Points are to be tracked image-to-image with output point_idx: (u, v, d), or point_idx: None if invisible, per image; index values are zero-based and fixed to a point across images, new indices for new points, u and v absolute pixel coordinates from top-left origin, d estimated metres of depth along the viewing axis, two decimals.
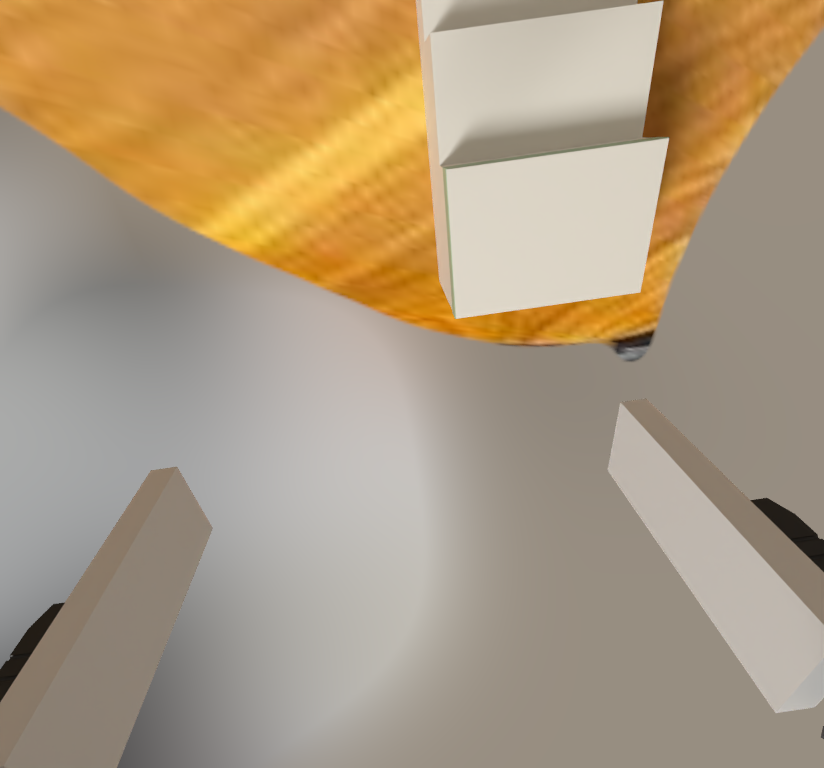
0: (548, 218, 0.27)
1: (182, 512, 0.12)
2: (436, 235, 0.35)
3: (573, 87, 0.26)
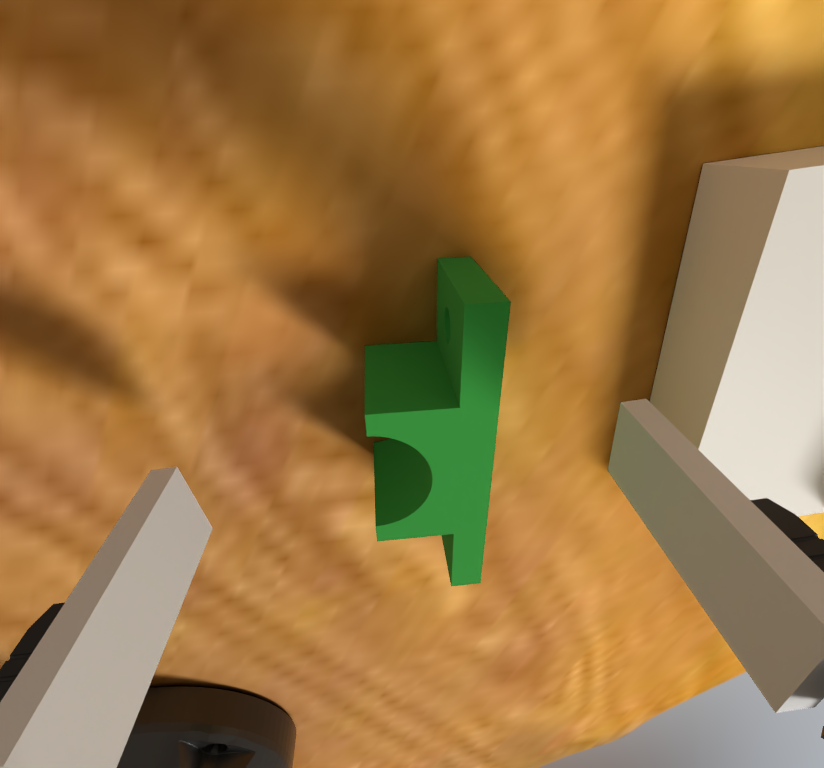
0: None
1: (182, 512, 0.12)
2: None
3: None
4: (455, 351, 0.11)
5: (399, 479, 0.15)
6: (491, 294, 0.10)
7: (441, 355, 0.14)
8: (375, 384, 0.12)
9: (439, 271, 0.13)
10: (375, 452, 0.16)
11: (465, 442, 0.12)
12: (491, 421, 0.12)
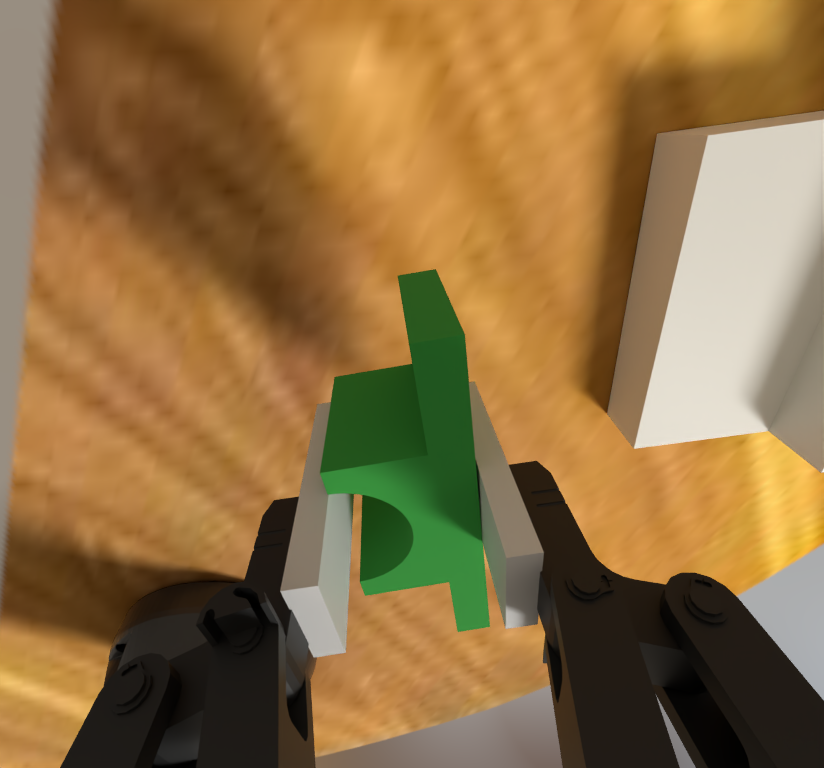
0: None
1: None
2: None
3: None
4: None
5: (386, 522, 0.13)
6: (444, 324, 0.09)
7: (415, 384, 0.12)
8: (338, 430, 0.11)
9: None
10: None
11: (442, 490, 0.10)
12: (469, 465, 0.10)
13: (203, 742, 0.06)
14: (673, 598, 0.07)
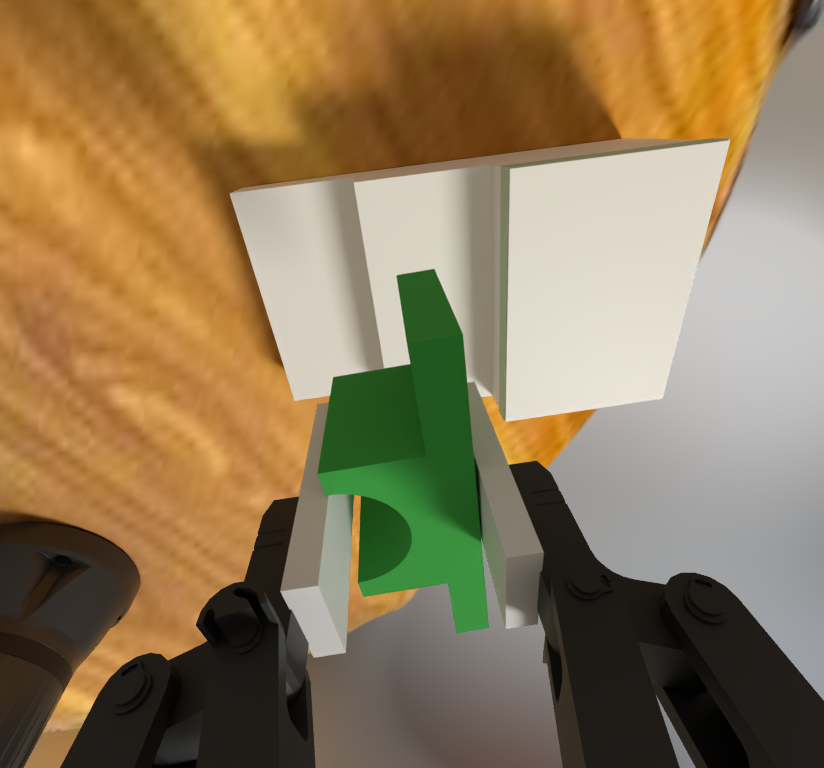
0: (576, 313, 0.22)
1: None
2: None
3: None
4: None
5: (385, 523, 0.13)
6: (443, 324, 0.09)
7: (414, 385, 0.12)
8: (336, 430, 0.11)
9: None
10: None
11: (441, 490, 0.10)
12: (467, 466, 0.10)
13: (202, 742, 0.06)
14: (673, 598, 0.07)
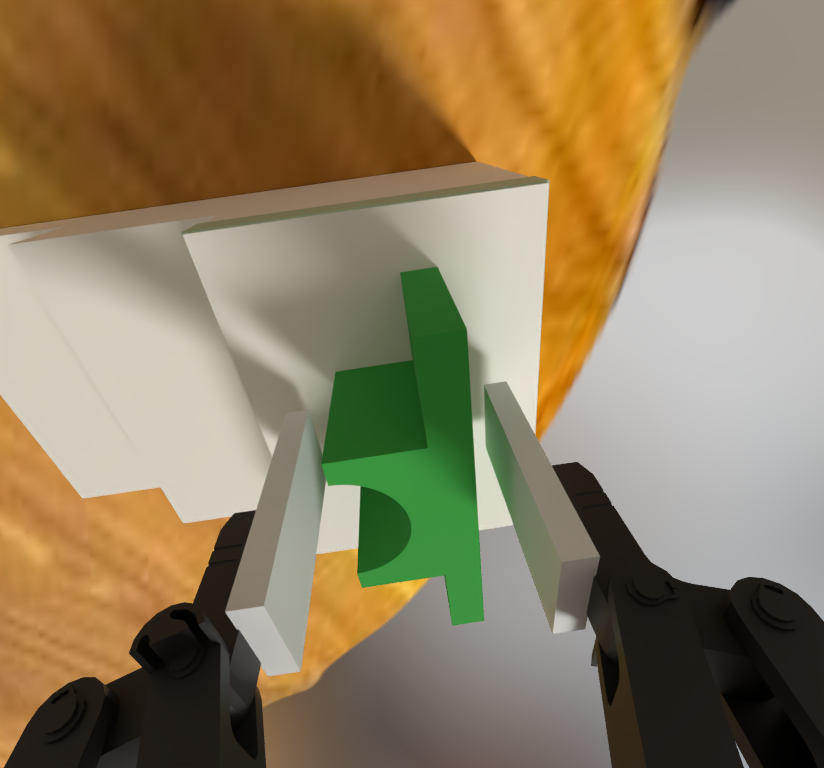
0: None
1: (313, 449, 0.13)
2: None
3: (180, 361, 0.16)
4: (418, 384, 0.10)
5: (384, 515, 0.14)
6: (446, 320, 0.09)
7: (415, 380, 0.12)
8: (338, 423, 0.11)
9: None
10: None
11: (441, 483, 0.11)
12: (467, 458, 0.10)
13: None
14: (740, 601, 0.07)
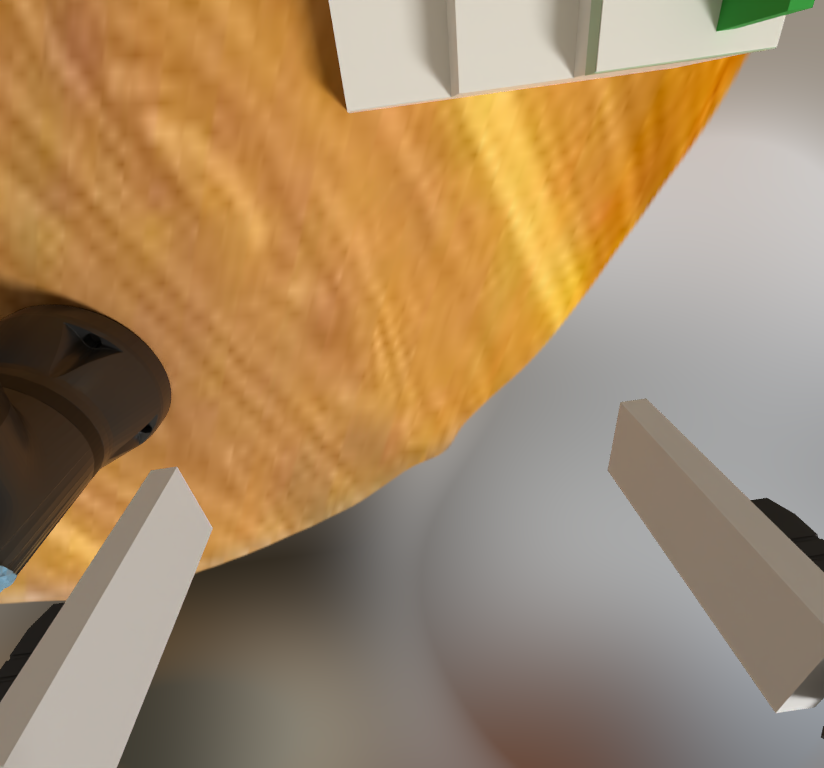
0: None
1: (182, 512, 0.12)
2: (621, 74, 0.29)
3: None
4: None
5: None
6: None
7: None
8: None
9: None
10: None
11: None
12: None
13: None
14: None
